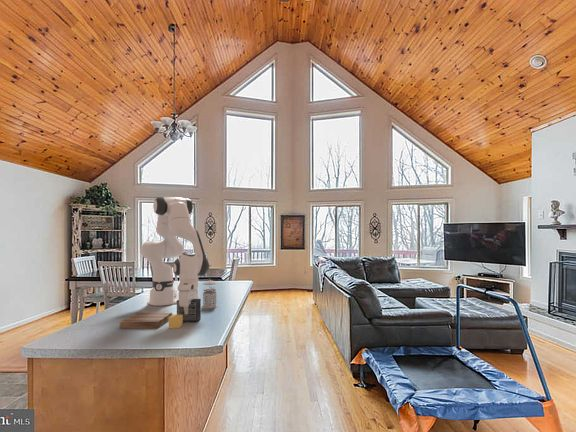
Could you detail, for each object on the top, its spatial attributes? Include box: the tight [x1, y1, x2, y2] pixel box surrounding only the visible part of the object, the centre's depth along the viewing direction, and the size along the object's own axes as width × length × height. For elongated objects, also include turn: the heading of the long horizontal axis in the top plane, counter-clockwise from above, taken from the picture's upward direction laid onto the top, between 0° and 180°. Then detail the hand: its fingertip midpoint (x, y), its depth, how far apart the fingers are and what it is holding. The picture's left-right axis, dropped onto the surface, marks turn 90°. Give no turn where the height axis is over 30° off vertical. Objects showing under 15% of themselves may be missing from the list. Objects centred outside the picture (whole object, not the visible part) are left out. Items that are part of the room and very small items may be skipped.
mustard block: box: [168, 314, 184, 329], centre depth 165 cm, size 5×5×5 cm
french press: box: [201, 263, 219, 309], centre depth 209 cm, size 10×12×25 cm
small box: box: [176, 298, 202, 323], centre depth 177 cm, size 11×6×10 cm, turn 86°
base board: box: [119, 312, 173, 329], centre depth 172 cm, size 18×18×3 cm
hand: (189, 312), depth 176 cm, fingers closed on small box, 6 cm apart
